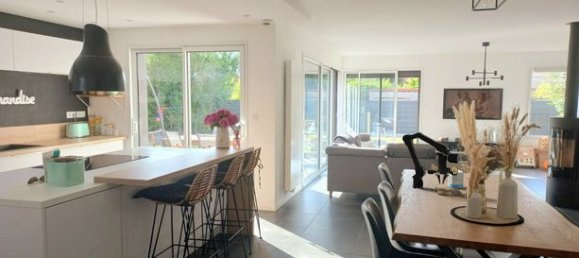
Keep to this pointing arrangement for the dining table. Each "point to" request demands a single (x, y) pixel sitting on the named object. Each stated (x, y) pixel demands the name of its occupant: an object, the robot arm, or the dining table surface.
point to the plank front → (445, 193)
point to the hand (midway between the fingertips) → (441, 184)
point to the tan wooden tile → (456, 192)
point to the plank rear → (442, 189)
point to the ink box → (456, 180)
